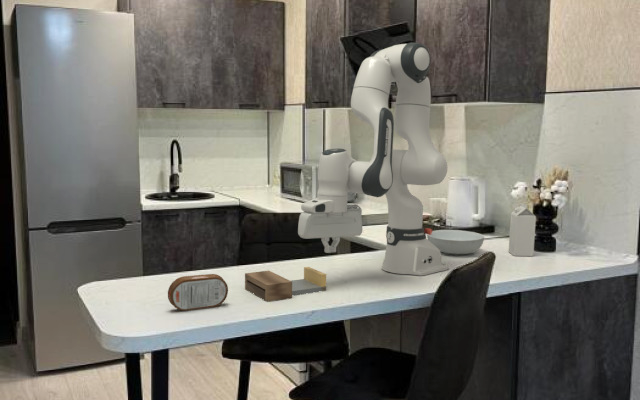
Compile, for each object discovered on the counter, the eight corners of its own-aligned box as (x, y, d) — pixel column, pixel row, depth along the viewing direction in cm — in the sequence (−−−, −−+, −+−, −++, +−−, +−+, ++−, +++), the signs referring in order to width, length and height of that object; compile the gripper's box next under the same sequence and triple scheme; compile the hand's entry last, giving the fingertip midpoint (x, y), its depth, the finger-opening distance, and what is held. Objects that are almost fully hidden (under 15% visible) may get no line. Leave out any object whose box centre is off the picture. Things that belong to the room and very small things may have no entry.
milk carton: (527, 252, 227) (530, 203, 225) (533, 256, 220) (536, 205, 218) (508, 252, 228) (511, 202, 225) (514, 256, 220) (517, 205, 218)
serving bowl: (415, 248, 231) (416, 231, 230) (460, 245, 239) (461, 228, 238) (447, 260, 212) (448, 241, 211) (495, 256, 220) (496, 237, 219)
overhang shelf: (268, 285, 173) (268, 270, 173) (291, 298, 161) (292, 281, 161) (244, 288, 169) (244, 273, 169) (266, 301, 158) (266, 285, 157)
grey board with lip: (308, 283, 178) (308, 266, 177) (325, 291, 169) (326, 274, 169) (275, 287, 172) (275, 270, 172) (291, 296, 164) (291, 278, 163)
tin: (225, 303, 156) (225, 271, 155) (229, 306, 153) (229, 274, 152) (167, 310, 149) (167, 277, 148) (170, 314, 146) (170, 280, 145)
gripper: (355, 203, 181) (353, 248, 183) (296, 204, 171) (294, 252, 172) (367, 205, 176) (365, 252, 177) (307, 206, 165) (305, 256, 167)
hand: (330, 252), depth 174 cm, fingers closed
